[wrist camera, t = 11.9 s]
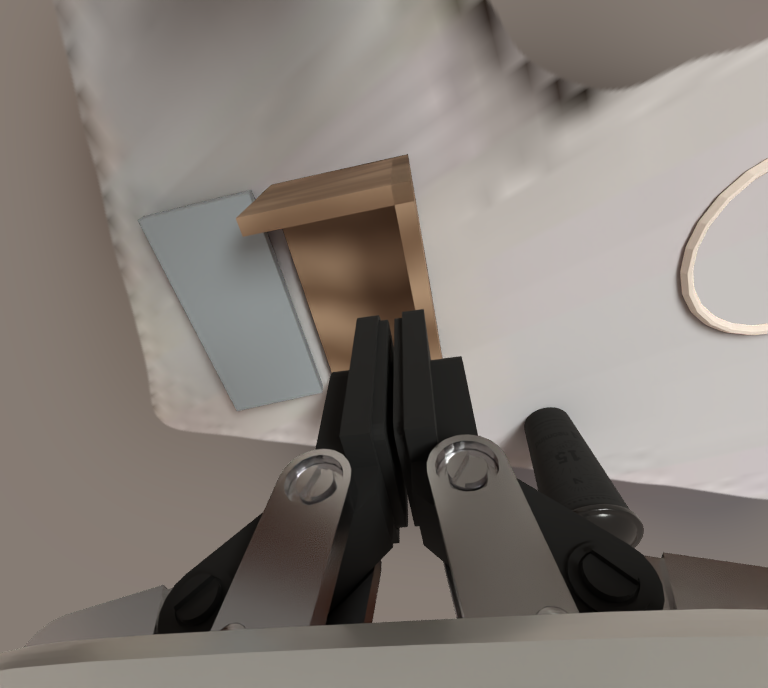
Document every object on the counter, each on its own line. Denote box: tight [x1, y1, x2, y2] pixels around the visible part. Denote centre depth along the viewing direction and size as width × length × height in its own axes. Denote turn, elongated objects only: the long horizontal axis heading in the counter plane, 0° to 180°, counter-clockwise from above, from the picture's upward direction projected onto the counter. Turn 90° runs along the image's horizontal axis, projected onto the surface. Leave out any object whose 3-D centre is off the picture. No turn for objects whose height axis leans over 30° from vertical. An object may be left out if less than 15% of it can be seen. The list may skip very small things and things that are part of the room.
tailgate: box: [138, 190, 323, 411], centre depth 39 cm, size 20×1×9 cm
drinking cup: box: [524, 408, 644, 548], centre depth 39 cm, size 8×8×20 cm
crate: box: [236, 154, 443, 373], centre depth 35 cm, size 20×11×9 cm, turn 12°
